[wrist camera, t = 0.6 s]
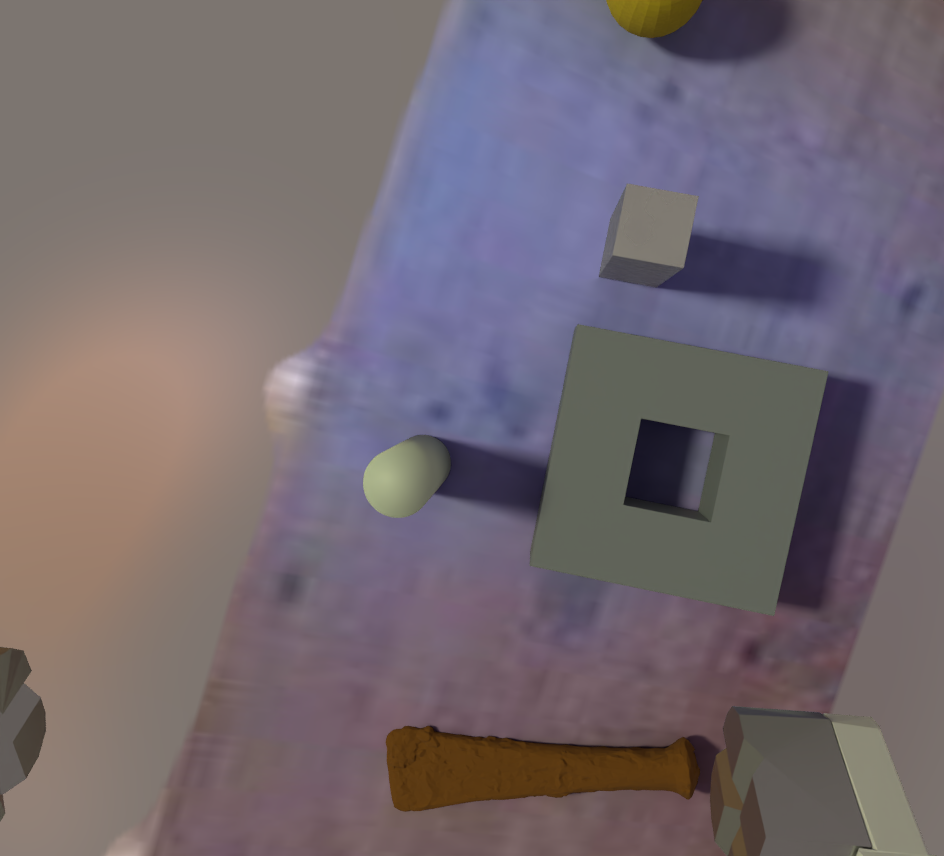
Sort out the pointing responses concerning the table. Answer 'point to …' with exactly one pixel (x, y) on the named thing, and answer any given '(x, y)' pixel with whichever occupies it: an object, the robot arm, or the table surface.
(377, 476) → the round bit
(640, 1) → the lemon
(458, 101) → the table surface
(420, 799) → the primitive tool
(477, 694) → the table surface
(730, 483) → the socket block
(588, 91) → the table surface
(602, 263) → the square bit
